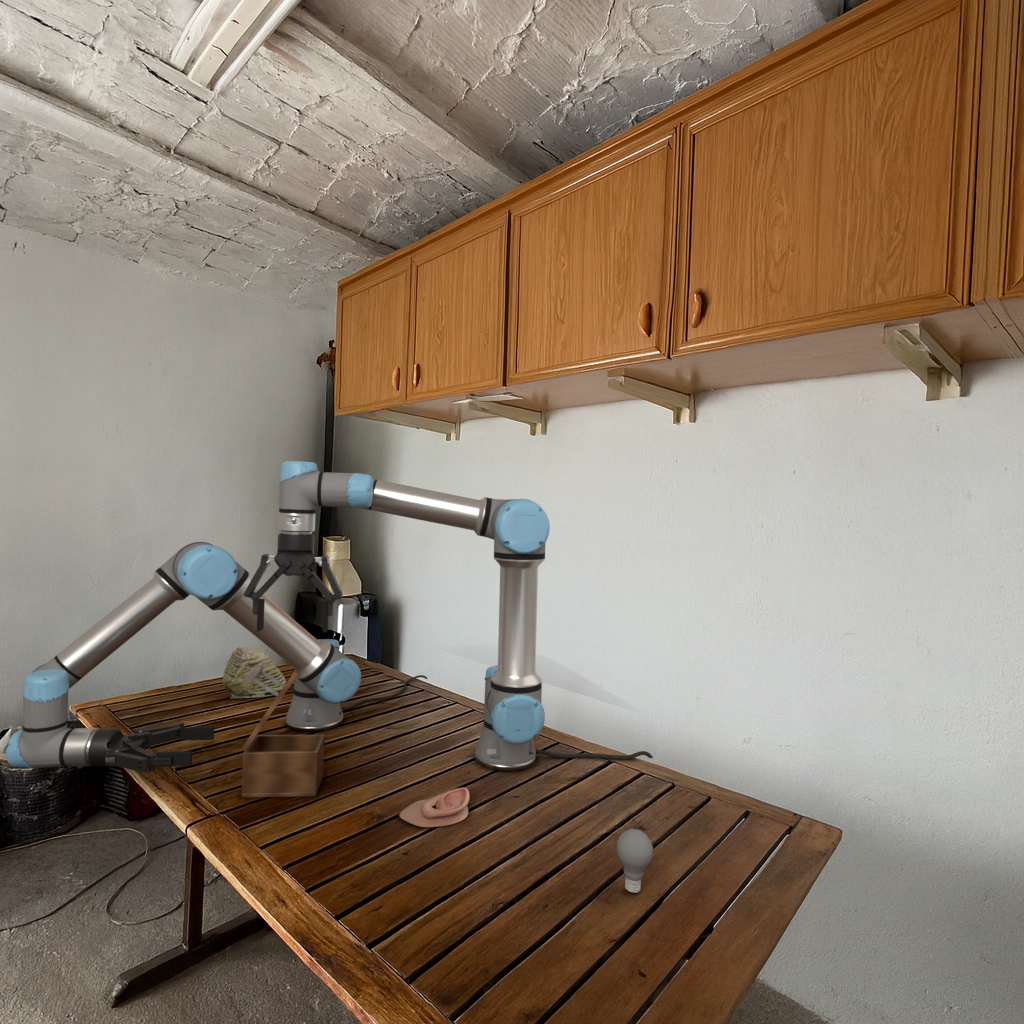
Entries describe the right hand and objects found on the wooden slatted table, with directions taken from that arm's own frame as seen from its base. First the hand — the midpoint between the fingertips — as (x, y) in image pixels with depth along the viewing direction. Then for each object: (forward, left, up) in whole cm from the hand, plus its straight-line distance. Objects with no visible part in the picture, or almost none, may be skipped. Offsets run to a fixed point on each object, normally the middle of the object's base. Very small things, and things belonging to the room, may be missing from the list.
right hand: (292, 630), depth 137 cm
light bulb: (-52, +56, -34) cm, 84 cm away
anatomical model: (-27, +22, -34) cm, 49 cm away
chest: (+1, 0, -34) cm, 34 cm away
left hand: (+17, -4, -25) cm, 30 cm away
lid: (+3, -1, -18) cm, 18 cm away
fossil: (+7, -68, -34) cm, 76 cm away
